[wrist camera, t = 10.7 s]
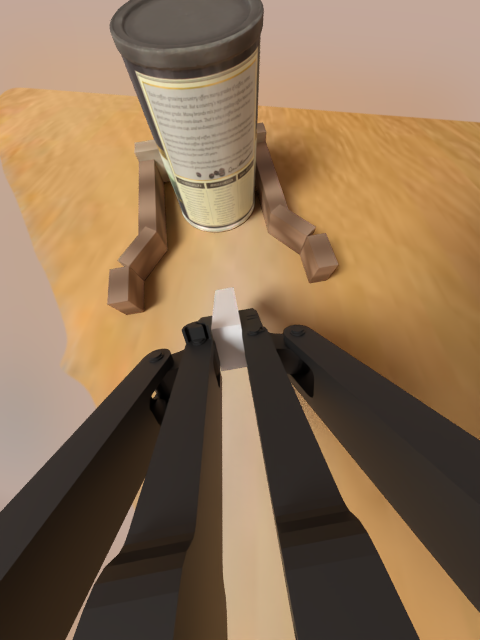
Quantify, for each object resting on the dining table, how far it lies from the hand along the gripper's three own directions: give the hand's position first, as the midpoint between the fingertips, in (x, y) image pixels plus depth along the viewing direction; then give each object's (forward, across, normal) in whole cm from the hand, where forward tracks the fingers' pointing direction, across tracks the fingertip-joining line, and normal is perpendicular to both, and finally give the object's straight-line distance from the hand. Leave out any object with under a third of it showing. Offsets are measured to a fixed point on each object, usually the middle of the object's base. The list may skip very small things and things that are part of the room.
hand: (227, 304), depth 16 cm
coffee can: (+16, +1, +9) cm, 18 cm away
